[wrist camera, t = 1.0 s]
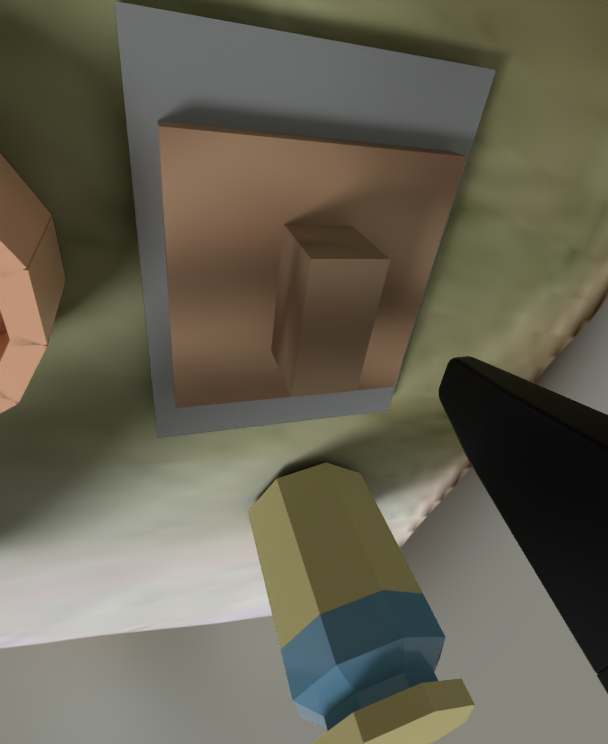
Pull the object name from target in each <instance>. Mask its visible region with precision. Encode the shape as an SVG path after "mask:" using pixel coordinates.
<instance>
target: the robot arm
mask: <svg viewBox="0 0 608 744" xmlns="http://www.w3.org/2000/svg"><path fill="white" fill-rule="evenodd" d="M439 398H440V401H441V403H442V405H443V407H444V410H445V412H446V414H447V416H448V418H449V420H450V422H451V424H452V427H453V429H454V431H455V433H456V435H457V437H458V439H459V442H460V444H461V446H462V448H463V450H464V452H465V454H466V456H467V458H468V460H469V462H470V463H471V465H472V467H473V469H474V470H475V472H476V474H477V475H478V477H479V479H480V480H481V482H482V484H483V486H484V487H485V488H486V491H487V492H488V494H489V496H490V497H491V499H492V500H493V502H494V504H495V505H496V507H497V509H498V511H499V512H500V514H501V516H502V517H503V519H504V520H505V522H506V524H507V526H508V527H509V529H510V530H511V532H512V534H513V535H514V537H515V539H516V541H517V542H518V544H519V546H520V547H521V549H522V551H523V552H524V554H525V555H526V557H527V559H528V561H529V562H530V564H531V566H532V567H533V569H534V571H535V572H536V574H537V576H538V577H539V579H540V581H541V582H542V584H543V586H544V587H545V589H546V591H547V592H548V594H549V596H550V597H551V599H552V601H553V602H554V604H555V606H556V608H557V609H558V611H559V612H560V614H561V616H562V617H563V619H564V621H565V623H566V624H567V626H568V627H569V629H570V631H571V633H572V634H573V636H574V638H575V639H576V641H577V643H578V644H579V646H580V648H581V649H582V651H583V653H584V654H585V656H586V657H587V659H588V661H589V663H590V664H591V666H592V668H593V669H594V671H595V672H596V673H597V677H598V678H599V680H600V682H601V683H602V685H603V687H604V688H605V690H606V692H607V693H608V415H606V414H604V413H602V412H599V411H597V410H595V409H592V408H590V407H588V406H585V405H583V404H581V403H578V402H576V401H574V400H571V399H569V398H566V397H564V396H562V395H560V394H557V393H555V392H553V391H550V390H548V389H546V388H543V387H541V386H539V385H536V384H534V383H532V382H529V381H527V380H525V379H522V378H520V377H518V376H515V375H513V374H511V373H508V372H506V371H504V370H501V369H499V368H497V367H494V366H492V365H490V364H487V363H485V362H483V361H480V360H478V359H476V358H473V357H469V356H466V357H457V358H453V359H451V360H450V361H449V363H448V365H447V367H446V370H445V373H444V376H443V379H442V381H441V384H440V387H439Z"/></svg>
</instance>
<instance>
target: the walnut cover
mask: <svg viewBox="0 0 608 744" xmlns="http://www.w3.org/2000/svg"><path fill="white" fill-rule="evenodd" d="M157 124H158V140H159V157H160V173H161V190H162V206H163V222H164V239H165V255H166V271H167V288H168V304H169V320H170V337H171V353H172V369H173V386H174V398H175V407H176V408H183V407H193V406H203V405H213V404H224V403H234V402H244V401H254V400H264V399H275V398H285V397H299V396H310V395H320V394H330V393H340V392H350V391H357V390H366V389H377V388H387V387H394V385H395V382H396V379H397V376H398V373H399V370H400V366H401V363H402V360H403V357H404V354H405V351H406V347H407V344H408V341H409V338H410V335H411V332H412V329H413V325H414V322H415V319H416V316H417V313H418V310H419V306H420V303H421V300H422V297H423V294H424V291H425V287H426V284H427V281H428V278H429V275H430V272H431V269H432V265H433V262H434V259H435V256H436V253H437V250H438V246H439V243H440V240H441V237H442V234H443V231H444V228H445V224H446V221H447V218H448V215H449V212H450V209H451V205H452V202H453V199H454V196H455V193H456V190H457V186H458V183H459V180H460V177H461V174H462V171H463V168H464V164H465V161H466V158H467V157H466V156H463V155H461V154H458V153H455V152H452V151H447V150H437V149H427V148H418V147H408V146H398V145H388V144H379V143H369V142H359V141H349V140H340V139H330V138H320V137H311V136H301V135H291V134H281V133H272V132H262V131H252V130H242V129H233V128H223V127H213V126H203V125H194V124H184V123H174V122H165V121H157Z"/></svg>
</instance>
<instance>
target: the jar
mask: <svg viewBox="0 0 608 744" xmlns="http://www.w3.org/2000/svg"><path fill="white" fill-rule="evenodd" d="M248 514H249V518H250V523H251V527H252V531H253V535H254V540H255V544H256V548H257V552H258V556H259V561H260V565H261V569H262V573H263V577H264V582H265V586H266V590H267V594H268V598H269V603H270V607H271V611H272V615H273V619H274V624H275V628H276V632H277V636H278V641H279V645H280V649H281V653H282V657H283V662H284V665H285V670H286V674H287V678H288V682H289V687H290V691H291V695H292V699H293V702H294V704H295V706H296V708H297V710H298V712H299V715H300V717H301V718H303V719H305V720H307V721H310V722H312V723H315V724H318V725H321V726H323V727H326V728H327V730H328V731H327V732H326V733H325V734H323V735H322V736H320V737H319V738H318V739H317V740H315V741H314V742H312V743H311V744H431V743H433V742H435V741H436V740H438V739H439V738H441V737H442V736H444V735H446V734H447V733H449V732H450V731H452V730H453V729H455V728H457V727H458V726H460V725H461V724H463V723H464V722H466V720H467V718H468V717H469V715H470V713H471V711H472V709H473V707H474V705H475V704H474V702H473V700H472V699H471V697H470V695H469V693H468V691H467V689H466V687H465V685H464V683H463V681H462V679H453V680H444V681H438V679H437V677H436V675H435V673H434V672H435V670H436V667H437V665H438V662H439V659H440V656H441V652H442V649H443V645H444V640H445V635H444V634H443V631H442V630H441V628H440V626H439V624H438V622H437V620H436V618H435V616H434V614H433V612H432V610H431V608H430V606H429V604H428V602H427V600H426V599H425V597H424V595H423V593H422V591H421V589H420V587H419V585H418V583H417V581H416V579H415V577H414V575H413V574H412V571H411V570H410V568H409V566H408V564H407V562H406V560H405V558H404V556H403V554H402V552H401V550H400V548H399V546H398V544H397V542H396V541H395V539H394V537H393V535H392V533H391V531H390V529H389V527H388V525H387V523H386V521H385V519H384V517H383V515H382V514H381V512H380V510H379V508H378V506H377V504H376V502H375V500H374V498H373V496H372V494H371V492H370V490H369V488H368V486H367V485H366V483H365V481H364V479H363V477H362V475H361V473H358V472H355V471H351V470H348V469H345V468H342V467H339V466H335V465H332V464H329V463H323V464H320V465H317V466H314V467H311V468H308V469H305V470H302V471H299V472H296V473H293V474H289V475H286V476H283V477H280V478H277V479H276V480H275V481H274V482H273V483H272V484H271V486H270V487H269V488H268V489H267V490H266V491H265V492H264V494H263V495H262V496H261V497H260V498H259V499H258V500H257V502H256V503H255V504H254V505H253V506H252V507H251V508H250V510H249V511H248Z"/></svg>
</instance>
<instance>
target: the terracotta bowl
mask: <svg viewBox="0 0 608 744" xmlns="http://www.w3.org/2000/svg"><path fill="white" fill-rule="evenodd" d="M65 281H66V279H65V274H64V269H63V265H62V260H61V255H60V250H59V245H58V241H57V236H56V231H55V226H54V221H53V217H51V213H50V212H49V211H48V210H47V209H46V207H45V206H44V205H43V204H42V203H41V201H40V200H39V199H38V198H37V197H36V195H35V194H34V193H33V192H32V190H31V189H30V188H29V187H28V186H27V184H26V183H25V182H24V181H23V180H22V178H21V177H20V176H19V175H18V174H17V172H16V171H15V170H14V169H13V168H12V166H11V165H10V164H9V163H8V162H7V160H6V159H5V158H4V157H3V156H2V154H1V153H0V413H2V412H4V411H6V410H8V409H9V408H11V407H13V406H15V405H17V404H18V403H19V402H20V400H21V398H22V396H23V394H24V392H25V390H26V388H27V386H28V384H29V382H30V380H31V378H32V376H33V374H34V372H35V370H36V368H37V366H38V364H39V362H40V360H41V358H42V356H43V354H44V352H45V350H46V348H47V345H48V342H49V338H50V335H51V331H52V327H53V324H54V320H55V317H56V313H57V310H58V306H59V303H60V299H61V296H62V292H63V289H64V285H65Z"/></svg>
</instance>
